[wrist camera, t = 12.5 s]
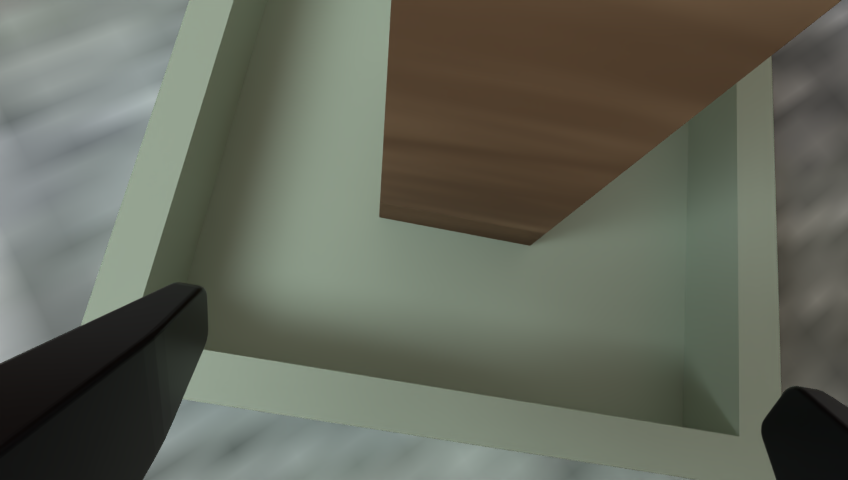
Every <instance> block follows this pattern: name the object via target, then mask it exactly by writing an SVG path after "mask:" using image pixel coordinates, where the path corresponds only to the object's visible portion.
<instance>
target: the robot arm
mask: <svg viewBox="0 0 848 480" xmlns="http://www.w3.org/2000/svg"><path fill="white" fill-rule="evenodd" d="M207 337H208V302H207V292H206V289H205V288H204V287H202V286H200V285H194V284H188V283H182V282H175V283H172V284H170V285H167V286H165V287H163V288H161V289H159V290H157V291H155V292H152V293H150V294H148V295H146V296H144V297H142V298H140V299H137V300H135V301H133V302H131V303H129V304H127V305H125V306H122V307H120V308H118V309H116V310H114V311H112V312H110V313H107V314H105V315H103V316H101V317H99V318H97V319H94V320H92V321H90V322H88V323H86V324H84V325H82V326H79V327H77V328H75V329H73V330H71V331H69V332H67V333H64V334H62V335H60V336H58V337H56V338H54V339H52V340H49V341H47V342H45V343H43V344H41V345H39V346H37V347H34V348H32V349H30V350H28V351H26V352H24V353H22V354H19V355H17V356H15V357H13V358H11V359H9V360H7V361H4V362H2V363H0V480H143V478H144V476H145V475H146V473H147V471H148V469H149V468H150V466H151V464H152V462H153V461H154V459H155V457H156V455H157V453H158V451H159V450H160V448H161V446H162V444H163V442H164V440H165V438H166V436H167V434H168V431H169V429H170V427H171V425H172V422H173V420H174V418H175V415H176V413H177V411H178V408H179V406H180V404H181V401H182V399H183V397H184V394H185V392H186V390H187V387H188V385H189V383H190V380H191V378H192V375H193V373H194V371H195V368H196V366H197V364H198V361H199V359H200V357H201V354H202V352H203V350H204V347H205V345H206V341H207ZM761 436H762V439H763V442H764V445H765V448H766V451H767V454H768V457H769V460H770V463H771V466H772V469H773V472H774V475H775V478H776V480H848V407H847V406H845V405H843V404H842V403H840V402H839V401H837V400H836V399H834V398H833V397H831V396H829V395H828V394H826V393H825V392H823V391H820V390H817V389H811V388H805V387H799V386H793V387H790V388H788V389H786V390H785V391H784V393H783V394H782V395H781V397H780V398H779V399H778V401H777V402H776V403H775V405H774V406H773V407H772V409H771V410H770V411H769V413H768V414H767V415H766V417H765V418H764V420H763V422H762V425H761Z"/></svg>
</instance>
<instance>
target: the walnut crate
mask: <svg viewBox="0 0 848 480" xmlns="http://www.w3.org/2000/svg"><path fill="white" fill-rule="evenodd" d="M840 1H841V0H391V12H390V30H389V48H388V66H387V84H386V102H385V120H384V138H383V156H382V174H381V191H380V209H379V217H380V218H385V219H391V220H396V221H401V222H407V223H412V224H417V225H422V226H428V227H433V228H438V229H444V230H449V231H454V232H459V233H465V234H470V235H475V236H481V237H486V238H491V239H496V240H502V241H507V242H512V243H518V244H523V245H528V246H531V245H532V244H533V243H534V242H536V241H537V240H538V239H539V238H541V237H542V236H543V235H544V234H546V233H547V232H548V231H550V230H551V229H552V228H553V227H555V226H556V225H557V224H558V223H560V222H561V221H562V220H563V219H565V218H566V217H567V216H569V215H570V214H571V213H572V212H574V211H575V210H576V209H577V208H579V207H580V206H581V205H583V204H584V203H585V202H586V201H588V200H589V199H590V198H591V197H593V196H594V195H595V194H596V193H598V192H599V191H600V190H602V189H603V188H604V187H605V186H607V185H608V184H609V183H610V182H612V181H613V180H614V179H616V178H617V177H618V176H619V175H621V174H622V173H623V172H624V171H626V170H627V169H628V168H629V167H631V166H632V165H633V164H635V163H636V162H637V161H638V160H640V159H641V158H642V157H643V156H645V155H646V154H647V153H648V152H650V151H651V150H652V149H654V148H655V147H656V146H657V145H659V144H660V143H661V142H662V141H664V140H665V139H666V138H668V137H669V136H670V135H671V134H673V133H674V132H675V131H676V130H678V129H679V128H680V127H681V126H683V125H684V124H685V123H687V122H688V121H689V120H690V119H692V118H693V117H694V116H695V115H697V114H698V113H699V112H700V111H702V110H703V109H704V108H706V107H707V106H708V105H709V104H711V103H712V102H713V101H714V100H716V99H717V98H718V97H720V96H721V95H722V94H723V93H725V92H726V91H727V90H728V89H730V88H731V87H732V86H733V85H735V84H736V83H737V82H739V81H740V80H741V79H742V78H744V77H745V76H746V75H747V74H749V73H750V72H751V71H752V70H754V69H755V68H756V67H758V66H759V65H760V64H761V63H763V62H764V61H765V60H766V59H768V58H769V57H770V56H772V55H773V54H774V53H775V52H777V51H778V50H779V49H780V48H782V47H783V46H784V45H785V44H787V43H788V42H789V41H791V40H792V39H793V38H794V37H796V36H797V35H798V34H799V33H801V32H802V31H803V30H805V29H806V28H807V27H808V26H810V25H811V24H812V23H813V22H815V21H816V20H817V19H818V18H820V17H821V16H822V15H824V14H825V13H826V12H827V11H829V10H830V9H831V8H832V7H834V6H835V5H836V4H837V3H839V2H840Z"/></svg>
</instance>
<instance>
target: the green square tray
mask: <svg viewBox="0 0 848 480" xmlns="http://www.w3.org/2000/svg"><path fill="white" fill-rule="evenodd" d="M390 12H391V0H189V3H188V6H187V9H186V12H185V15H184V18H183V21H182V24H181V27H180V30H179V33H178V36H177V39H176V42H175V45H174V48H173V51H172V54H171V57H170V60H169V63H168V66H167V69H166V72H165V75H164V78H163V81H162V84H161V87H160V90H159V93H158V96H157V99H156V102H155V105H154V108H153V111H152V114H151V117H150V120H149V123H148V126H147V129H146V132H145V135H144V138H143V141H142V144H141V147H140V150H139V153H138V156H137V159H136V162H135V165H134V168H133V171H132V174H131V177H130V180H129V183H128V186H127V189H126V192H125V195H124V198H123V201H122V204H121V207H120V210H119V213H118V216H117V219H116V222H115V225H114V228H113V231H112V234H111V237H110V240H109V243H108V246H107V249H106V252H105V255H104V258H103V261H102V264H101V267H100V270H99V273H98V276H97V279H96V282H95V285H94V288H93V291H92V294H91V297H90V300H89V303H88V306H87V309H86V312H85V315H84V318H83V321H82V324H81V326H82V325H84V324H86V323H88V322H90V321H92V320H94V319H97V318H99V317H101V316H103V315H105V314H107V313H110V312H112V311H114V310H116V309H118V308H120V307H122V306H125V305H127V304H129V303H131V302H133V301H135V300H137V299H140V298H142V297H144V296H146V295H148V294H150V293H152V292H155V291H157V290H159V289H161V288H163V287H165V286H167V285H170V284H172V283H175V282H182V283H188V284H194V285H200V286H202V287H204V288H205V289H206V292H207V302H208V337H207V341H206V345H205V347H204V350H203V352H202V354H201V357H200V359H199V361H198V364H197V366H196V368H195V371H194V373H193V375H192V378H191V380H190V383H189V385H188V387H187V390H186V392H185V394H184V397H183V399H184V400H191V401H197V402H203V403H210V404H216V405H223V406H229V407H235V408H242V409H248V410H255V411H261V412H267V413H274V414H280V415H286V416H293V417H299V418H306V419H312V420H318V421H325V422H331V423H338V424H344V425H350V426H357V427H363V428H370V429H376V430H382V431H389V432H395V433H402V434H408V435H414V436H421V437H427V438H434V439H440V440H446V441H453V442H459V443H466V444H472V445H478V446H485V447H491V448H498V449H504V450H510V451H517V452H523V453H530V454H536V455H542V456H549V457H555V458H562V459H568V460H574V461H581V462H587V463H594V464H600V465H606V466H613V467H619V468H625V469H632V470H638V471H645V472H651V473H657V474H664V475H670V476H677V477H683V478H689V479H696V480H776V478H775V475H774V472H773V469H772V466H771V463H770V460H769V457H768V454H767V451H766V448H765V445H764V442H763V439H762V436H761V425H762V422H763V420H764V418H765V417H766V415H767V414H768V413H769V411H770V410H771V409H772V407H773V406H774V405H775V403H776V402H777V401H778V399H779V398H780V397H781V361H780V327H779V293H778V259H777V225H776V190H775V156H774V122H773V88H772V56H770V57H769V58H768V59H766V60H765V61H764V62H763V63H761V64H760V65H759V66H758V67H756V68H755V69H754V70H752V71H751V72H750V73H749V74H747V75H746V76H745V77H744V78H742V79H741V80H740V81H739V82H737V83H736V84H735V85H733V86H732V87H731V88H730V89H728V90H727V91H726V92H725V93H723V94H722V95H721V96H720V97H718V98H717V99H716V100H714V101H713V102H712V103H711V104H709V105H708V106H707V107H706V108H704V109H703V110H702V111H700V112H699V113H698V114H697V115H695V116H694V117H693V118H692V119H690V120H689V121H688V122H687V123H685V124H684V125H683V126H681V127H680V128H679V129H678V130H676V131H675V132H674V133H673V134H671V135H670V136H669V137H668V138H666V139H665V140H664V141H662V142H661V143H660V144H659V145H657V146H656V147H655V148H654V149H652V150H651V151H650V152H648V153H647V154H646V155H645V156H643V157H642V158H641V159H640V160H638V161H637V162H636V163H635V164H633V165H632V166H631V167H629V168H628V169H627V170H626V171H624V172H623V173H622V174H621V175H619V176H618V177H617V178H616V179H614V180H613V181H612V182H610V183H609V184H608V185H607V186H605V187H604V188H603V189H602V190H600V191H599V192H598V193H596V194H595V195H594V196H593V197H591V198H590V199H589V200H588V201H586V202H585V203H584V204H583V205H581V206H580V207H579V208H577V209H576V210H575V211H574V212H572V213H571V214H570V215H569V216H567V217H566V218H565V219H563V220H562V221H561V222H560V223H558V224H557V225H556V226H555V227H553V228H552V229H551V230H550V231H548V232H547V233H546V234H544V235H543V236H542V237H541V238H539V239H538V240H537V241H536V242H534V243H533V244H532V245H531V246H528V245H523V244H518V243H512V242H507V241H502V240H496V239H491V238H486V237H481V236H475V235H470V234H465V233H459V232H454V231H449V230H444V229H438V228H433V227H428V226H422V225H417V224H412V223H407V222H401V221H396V220H391V219H385V218H380V217H379V209H380V191H381V174H382V156H383V138H384V120H385V102H386V84H387V66H388V48H389V30H390Z"/></svg>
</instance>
